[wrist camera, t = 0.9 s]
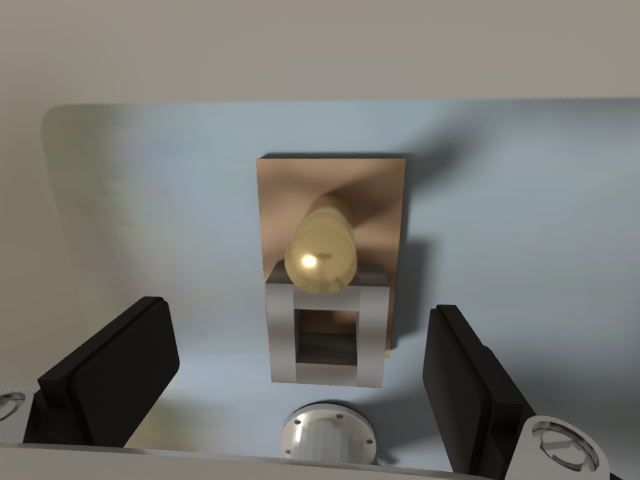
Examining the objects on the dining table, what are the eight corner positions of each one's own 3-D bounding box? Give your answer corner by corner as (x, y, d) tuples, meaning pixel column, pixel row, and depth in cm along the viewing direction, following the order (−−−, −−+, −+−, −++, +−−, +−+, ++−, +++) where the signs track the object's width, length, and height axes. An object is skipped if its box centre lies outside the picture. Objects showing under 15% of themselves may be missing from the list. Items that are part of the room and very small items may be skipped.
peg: (361, 216, 29) (372, 263, 18) (329, 246, 30) (320, 308, 19) (329, 184, 28) (320, 212, 17) (298, 216, 29) (269, 261, 18)
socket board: (388, 351, 35) (397, 392, 29) (271, 345, 36) (257, 385, 30) (403, 158, 28) (419, 162, 22) (259, 158, 29) (238, 161, 23)
